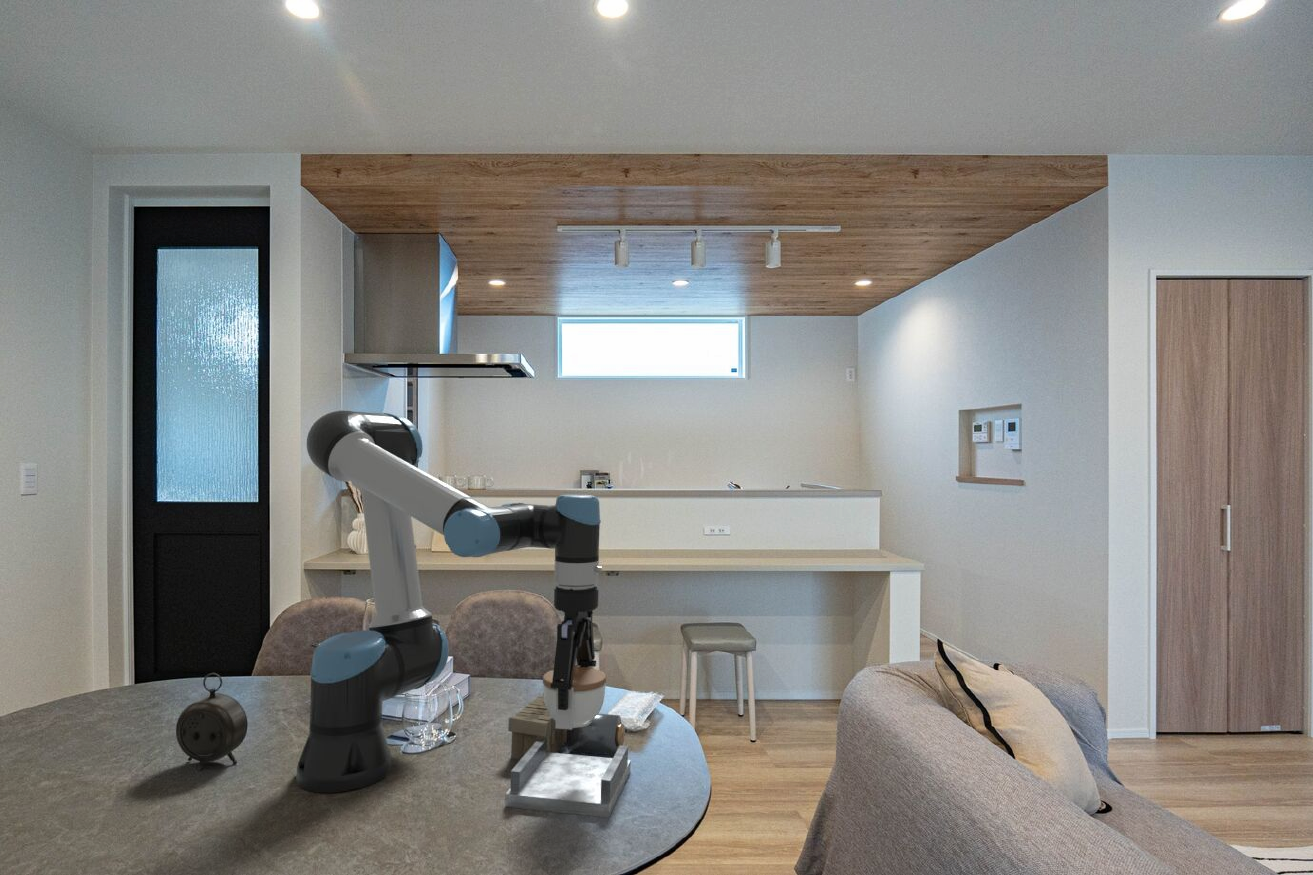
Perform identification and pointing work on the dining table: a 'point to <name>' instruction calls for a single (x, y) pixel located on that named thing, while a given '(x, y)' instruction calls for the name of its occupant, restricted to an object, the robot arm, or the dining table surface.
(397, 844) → the dining table surface
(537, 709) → the block tower
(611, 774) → the motor cradle
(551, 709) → the lidded jar
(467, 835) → the dining table surface
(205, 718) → the alarm clock
